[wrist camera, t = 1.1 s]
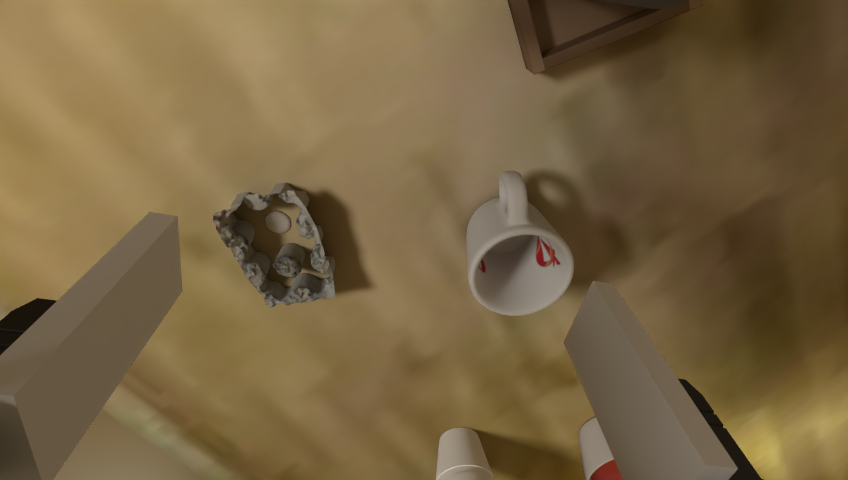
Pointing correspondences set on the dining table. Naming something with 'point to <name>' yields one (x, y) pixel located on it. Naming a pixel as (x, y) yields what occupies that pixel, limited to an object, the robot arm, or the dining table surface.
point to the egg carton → (290, 254)
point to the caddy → (579, 27)
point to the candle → (596, 453)
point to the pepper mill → (650, 3)
